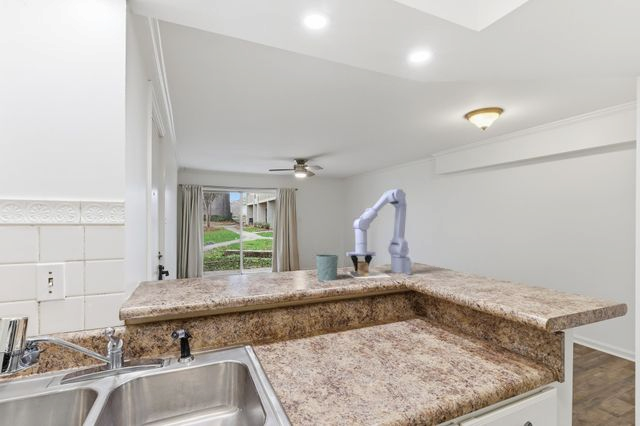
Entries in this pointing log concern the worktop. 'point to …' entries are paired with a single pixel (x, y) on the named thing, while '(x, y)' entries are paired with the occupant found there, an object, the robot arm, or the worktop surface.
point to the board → (374, 275)
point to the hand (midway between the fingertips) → (361, 270)
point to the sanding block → (362, 268)
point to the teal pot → (327, 267)
